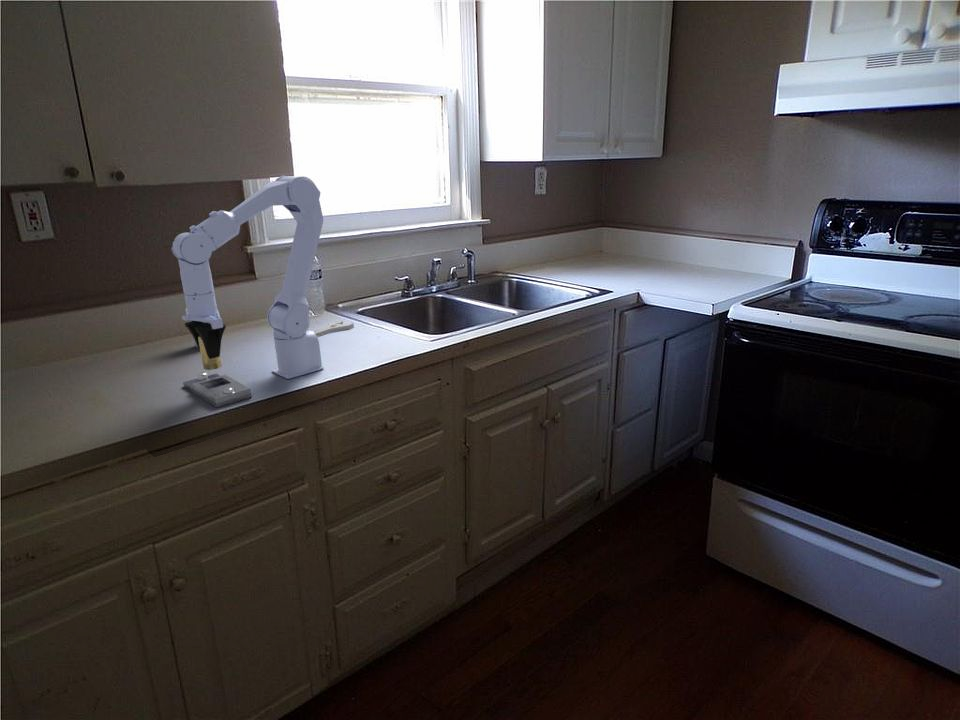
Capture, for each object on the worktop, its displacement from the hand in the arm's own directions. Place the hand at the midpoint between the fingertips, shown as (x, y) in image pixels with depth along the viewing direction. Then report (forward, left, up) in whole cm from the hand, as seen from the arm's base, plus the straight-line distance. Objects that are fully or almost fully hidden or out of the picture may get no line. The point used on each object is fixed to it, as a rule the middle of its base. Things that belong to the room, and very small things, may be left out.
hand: (210, 355), depth 133 cm
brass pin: (0, 0, -3) cm, 3 cm away
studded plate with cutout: (0, 0, -8) cm, 8 cm away
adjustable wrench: (-37, -23, -9) cm, 44 cm away
